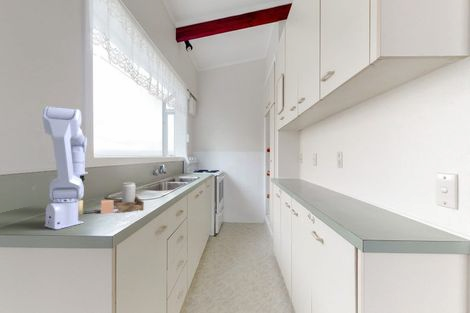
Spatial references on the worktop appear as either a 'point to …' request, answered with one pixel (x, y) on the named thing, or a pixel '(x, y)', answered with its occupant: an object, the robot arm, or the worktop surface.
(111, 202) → the grey rod with ends
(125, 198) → the beverage can
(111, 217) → the worktop surface
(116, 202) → the lane organiser
